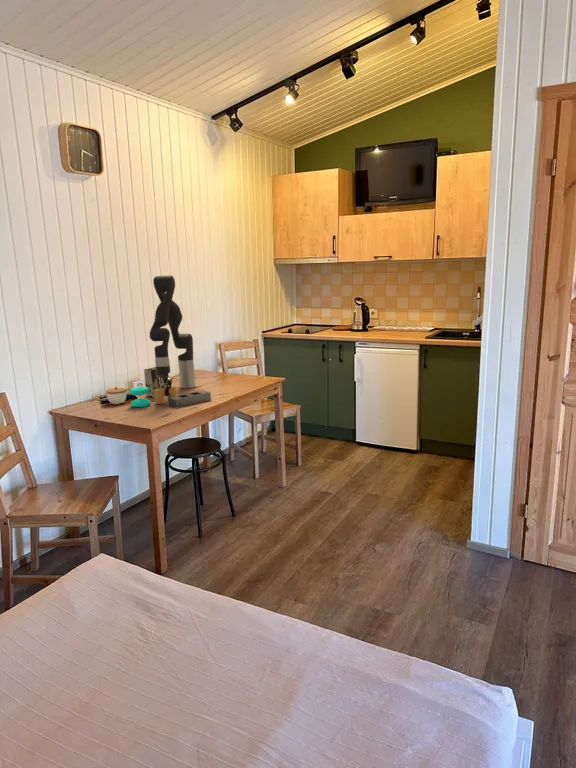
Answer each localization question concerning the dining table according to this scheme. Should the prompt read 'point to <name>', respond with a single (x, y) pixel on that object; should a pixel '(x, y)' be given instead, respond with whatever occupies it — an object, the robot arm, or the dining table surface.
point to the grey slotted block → (189, 398)
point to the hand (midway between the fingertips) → (165, 395)
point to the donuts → (142, 401)
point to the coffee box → (151, 381)
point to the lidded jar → (116, 395)
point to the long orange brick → (161, 392)
